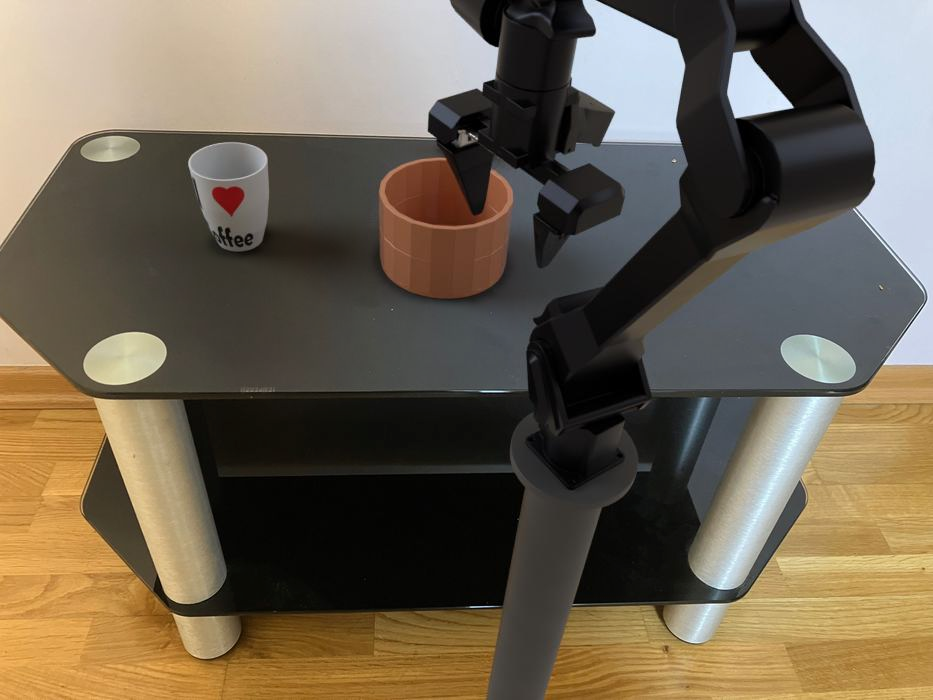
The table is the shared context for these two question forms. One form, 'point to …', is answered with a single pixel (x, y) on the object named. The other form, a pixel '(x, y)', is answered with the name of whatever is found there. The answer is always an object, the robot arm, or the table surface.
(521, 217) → the table surface
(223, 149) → the cup
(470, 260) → the bowl
